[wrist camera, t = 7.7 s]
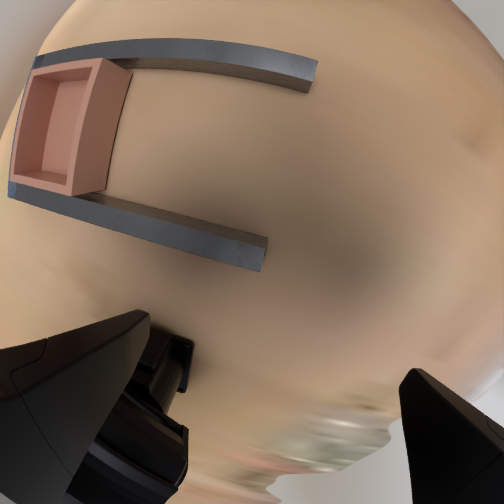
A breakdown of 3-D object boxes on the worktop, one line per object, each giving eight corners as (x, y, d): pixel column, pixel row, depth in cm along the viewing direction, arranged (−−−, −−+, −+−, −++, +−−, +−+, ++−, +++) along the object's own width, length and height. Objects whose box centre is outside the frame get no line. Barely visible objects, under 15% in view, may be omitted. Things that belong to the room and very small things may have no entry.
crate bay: (261, 258, 18) (259, 272, 16) (25, 192, 18) (7, 196, 16) (312, 74, 14) (318, 60, 12) (52, 61, 14) (35, 56, 12)
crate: (104, 189, 18) (71, 196, 14) (41, 175, 18) (9, 180, 14) (132, 73, 15) (102, 57, 11) (62, 77, 15) (31, 69, 11)
